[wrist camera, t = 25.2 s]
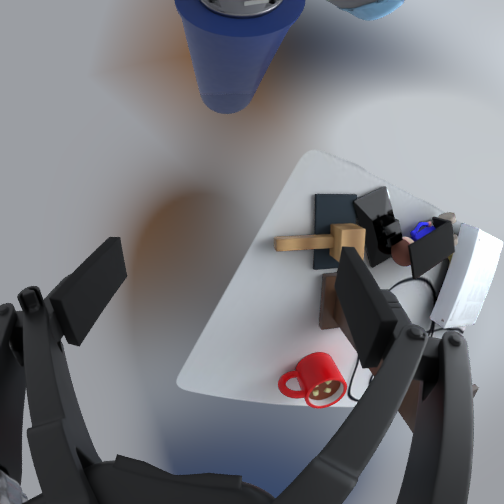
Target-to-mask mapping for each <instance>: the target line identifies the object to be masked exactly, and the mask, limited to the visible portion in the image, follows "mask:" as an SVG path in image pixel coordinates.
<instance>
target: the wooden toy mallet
mask: <svg viewBox="0 0 504 504" xmlns="http://www.w3.org/2000/svg"><path fill="white" fill-rule="evenodd" d="M365 231H366V229H364V228H362V227H360V226H358V225H356V224H353V223H345V224H331V229H330V234H320V235H300V236H280V237H274V248H275V250H276V251H291V250H308V249H324V248H330V253H329V255H331V256H332V257H333V258H334V259H335V260H337V261H338V262H339V260H340V255H341V249H342V246H346V247H355V249H356V250H357V252H358V253H359V255H360V257H361V258H362V260H363V258H364V246H365Z"/></svg>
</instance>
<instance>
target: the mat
mask: <svg viewBox="0 0 504 504" xmlns="http://www.w3.org/2000/svg"><path fill="white" fill-rule="evenodd" d="M356 199H357V195H356V194H315V235H320V234H330V229H331V224H345V223H353V224H356V212H355V209H354V206H353V201H354V200H356ZM329 253H330V248H324V249H314V265H313V269H314V270H318V269H330V268H338V265H339V262H338V261H337V260H335V259H334V258H333V257H332V256H331V255H329Z"/></svg>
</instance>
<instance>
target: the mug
mask: <svg viewBox="0 0 504 504" xmlns="http://www.w3.org/2000/svg"><path fill="white" fill-rule="evenodd" d="M296 377H297V379H298V382H299V385H300V388H301V391H294V390H291V389H289V388H287V386H286V382H287V381H288V380H289V379H291V378H296ZM278 388H279V390H280V392H281V393H282V394H284V395H285V396H287V397H290V398H305V401H306V403H307V404H308V405H309V406H310V407H313V408H325V407H329V406H331V405H333V404H335V403H336V402H338V401H339V400H340V399H341V398H342V397H343V396H344V394H345V393H346V390H347V384H346V382H345V380H344V378H343V377H342V375H341V373H340V371H339V370H338V368H337V366H336V364H335V363H334V361H333V359H332V358H331V356H330V355H328V354H326V353H323V352H317V353H312V354H310V355H308V356H306V357H304V358H303V359H302V360H301V361H300V362H299V363H298V365H297V366H296V370H295V371H290V372H287V373H285V374H284V375H282V376H281V377H280V379H279V381H278Z"/></svg>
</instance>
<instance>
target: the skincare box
mask: <svg viewBox="0 0 504 504" xmlns="http://www.w3.org/2000/svg"><path fill="white" fill-rule="evenodd" d="M502 246H503V241H501V240H499V239H497V238H495V237H493V236H491V235H490V234H488V233H486V232H484V231H481V229H479V228H476V227H473V226H470V225H467V224H465V223H462V224H461V228H460V232H459V235H458V244H457V245H456V246H455V252H454V253H453V256H452V259H451V262H450V265H449V268H448V271H447V274H446V277H445V280H444V283H443V285H442V288H441V291H440V293H439V296H438V299H437V301H436V304H435V306H434V308H433V311H432V313H431V316H430V319H431V320H433V321H434V322H435V323H437V324H438V325H440V326H441V327H442V328H450V327H461V326H466V325H474V324H475V322H476V319H477V317H478V315H479V313H480V310H481V308H482V305H483V303H484V300H485V297H486V295H487V293H488V290H489V287H490V285H491V282H492V279H493V276H494V273H495V270H496V267H497V263H498V260H499V257H500V254H501V250H502Z"/></svg>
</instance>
